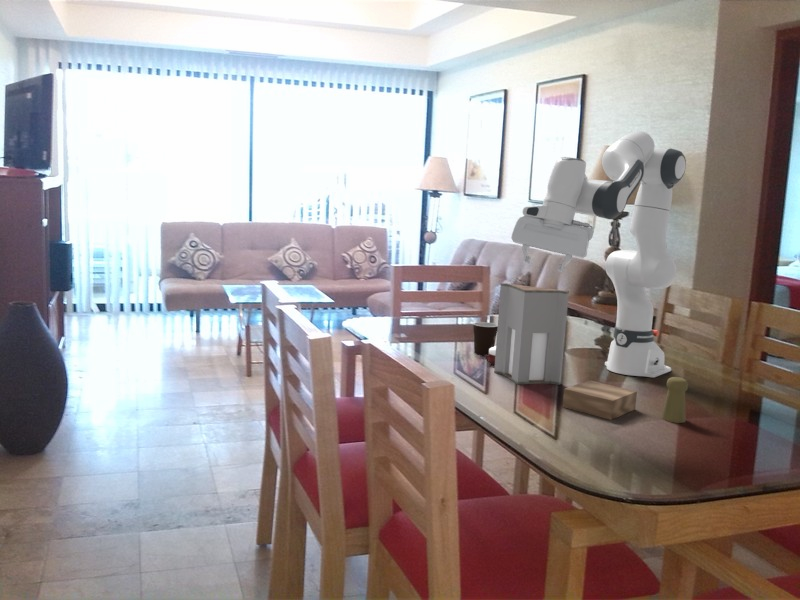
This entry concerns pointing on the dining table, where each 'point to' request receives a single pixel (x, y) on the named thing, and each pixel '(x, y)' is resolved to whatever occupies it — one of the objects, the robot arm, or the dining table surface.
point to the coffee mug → (484, 337)
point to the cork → (675, 400)
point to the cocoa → (491, 355)
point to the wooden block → (599, 399)
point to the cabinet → (531, 334)
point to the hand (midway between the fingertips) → (542, 266)
